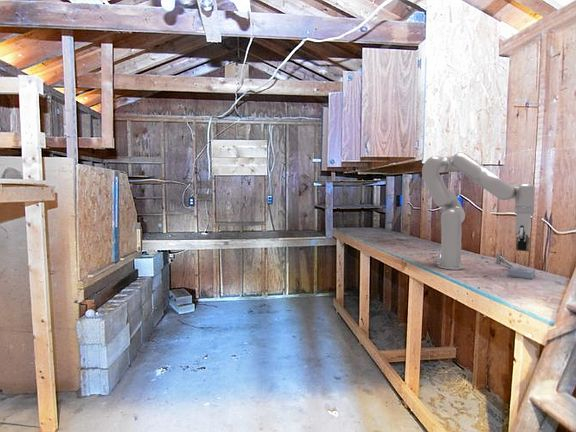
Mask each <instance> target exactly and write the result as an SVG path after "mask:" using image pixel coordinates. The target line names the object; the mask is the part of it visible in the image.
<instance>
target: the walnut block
mask: <svg viewBox="0 0 576 432" xmlns="http://www.w3.org/2000/svg"><path fill="white" fill-rule="evenodd" d="M518 238H519V236H517V237H515V251H519V252H530V251H531V245H532V242H531V241H532V237H529V236H528V237H526V250H518Z"/></svg>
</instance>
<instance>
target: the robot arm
mask: <svg viewBox="0 0 576 432" xmlns="http://www.w3.org/2000/svg"><path fill="white" fill-rule="evenodd" d="M449 172H450V173H451V172H460V173H462V174H463V175H464V176H466V177H467V178H469V180H471V181H472V182H473V183H475V184H477V185H478V186H480V187H481V188H483V189H484V190H485V191H487V192H488V193H490V194H491V195H493V196H494V197H495V198H496V199H499V200H502V201H508V200H514V214H515V215H516V216H515V225H514V226H515V230H514V234H515V235H516V236H517V235H518V237H519V238H518V250H526V237H529V234H530V233H531V228H532V215H534V214H535V196H536V195H535V193H536V192H535V190H536V188H535V185H534V184H531V183H528V184H527V183H522V184H520V183H519V184H508V183H507V182H505V181H504V180H502V179H501V178H499V177H498V176H496V175H495V174H494V173H493V172H492V171H491V170H490V169H489V168H488V167H486V166H485V165H483V164H482V163H480V162H479V161H477V160H476V159H474V158H472V157H471V156H470V155H469V154H467V153H464V152H457V153H455V154H454V155H450V156H449V155H447V156H440V155H432V156H430V157H429V158H427V159H426V161H425V162H424V163H423V165H422V168H421V176H422V179H423V182H424V183H425V184H424V185H426V188H427V189H428V192H429V194H430V196H431V198H432V200H433V202H434V204H435V205H436V206H438V207H440V208H441V209H442V213H441V216H440V225H441V227H440V228H441V236H440V237H441V241H440V242H441V245H440V246H441V248H440V250H441V251H440V257H439V258H438V257H433V258H432V261H433V262H435V263H437V267H438V268H440V269H444V270H451V271H452V270H453V271H455V270H456V271H460V270H464V269H465V265H464V264H462V263H461V262H462V261H461V260H462V259H461V258H462V236H463V235H462V233H463V232H462V223H463V222H464V221H465V219H466V212H465V210H464V208H463V206H462V204H461V202H460V200H459V199H458V197H457V195H456V193H455V192H454V191H452V190H451V189H448V187H447V185H446V184H445V182H444V180H443V177H441V175H440V174H441V173H449ZM518 250H517V251H518Z"/></svg>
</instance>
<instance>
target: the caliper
mask: <svg viewBox="0 0 576 432" xmlns="http://www.w3.org/2000/svg"><path fill="white" fill-rule="evenodd" d="M501 263H502V264H505V265H507V266H508V267H509V268H511V267H517V266H516V265H514V264H512V263H511V262H510V261H508V260H507V259H506V258H505V257H503V256H502V255H501V253H500V252H497V254H496V256H495V264H498V265H500V264H501Z"/></svg>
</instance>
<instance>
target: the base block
mask: <svg viewBox="0 0 576 432" xmlns="http://www.w3.org/2000/svg"><path fill="white" fill-rule="evenodd" d="M507 271H508V274H507V277H513V278H519V279H527V280H533V279H534V277H536V274H535V269H532V268H527V267H519V266H518V267H517V266H516V267H509V269H508V270H507Z"/></svg>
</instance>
